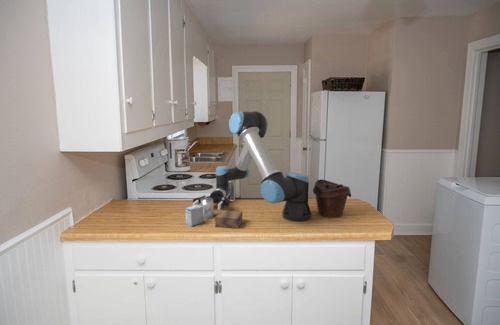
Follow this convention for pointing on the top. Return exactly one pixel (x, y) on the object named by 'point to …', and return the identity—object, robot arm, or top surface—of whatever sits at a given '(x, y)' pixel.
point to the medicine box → (194, 215)
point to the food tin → (207, 207)
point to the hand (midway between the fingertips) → (206, 206)
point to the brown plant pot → (330, 198)
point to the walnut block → (228, 219)
